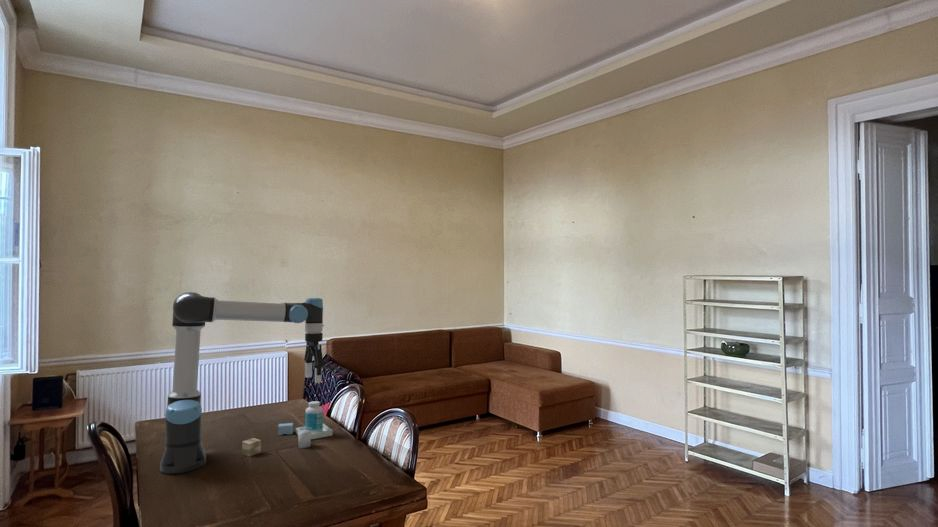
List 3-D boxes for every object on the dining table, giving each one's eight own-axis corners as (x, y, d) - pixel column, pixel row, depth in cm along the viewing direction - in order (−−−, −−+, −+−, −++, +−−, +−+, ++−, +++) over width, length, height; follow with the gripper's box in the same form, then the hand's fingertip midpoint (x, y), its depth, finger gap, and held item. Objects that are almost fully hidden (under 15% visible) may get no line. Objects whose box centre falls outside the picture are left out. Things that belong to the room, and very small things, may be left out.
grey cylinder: (300, 448, 209) (300, 434, 209) (296, 445, 213) (296, 431, 213) (312, 446, 212) (312, 432, 212) (308, 443, 216) (308, 429, 216)
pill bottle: (319, 435, 223) (319, 404, 224) (303, 435, 224) (303, 404, 224) (324, 430, 231) (324, 400, 231) (308, 430, 231) (308, 400, 231)
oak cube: (249, 456, 201) (249, 443, 201) (242, 453, 204) (242, 441, 204) (260, 452, 205) (260, 440, 205) (253, 450, 208) (253, 438, 208)
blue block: (278, 435, 227) (278, 426, 227) (279, 432, 230) (279, 423, 231) (292, 434, 228) (292, 425, 228) (293, 431, 232) (293, 422, 232)
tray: (304, 440, 219) (304, 435, 219) (295, 433, 229) (295, 428, 229) (332, 435, 226) (332, 430, 226) (323, 428, 236) (323, 423, 236)
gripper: (331, 334, 220) (330, 383, 220) (313, 329, 241) (313, 374, 240) (314, 335, 216) (313, 385, 215) (297, 330, 236) (296, 376, 236)
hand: (313, 379), depth 228 cm, fingers open, 13 cm apart
